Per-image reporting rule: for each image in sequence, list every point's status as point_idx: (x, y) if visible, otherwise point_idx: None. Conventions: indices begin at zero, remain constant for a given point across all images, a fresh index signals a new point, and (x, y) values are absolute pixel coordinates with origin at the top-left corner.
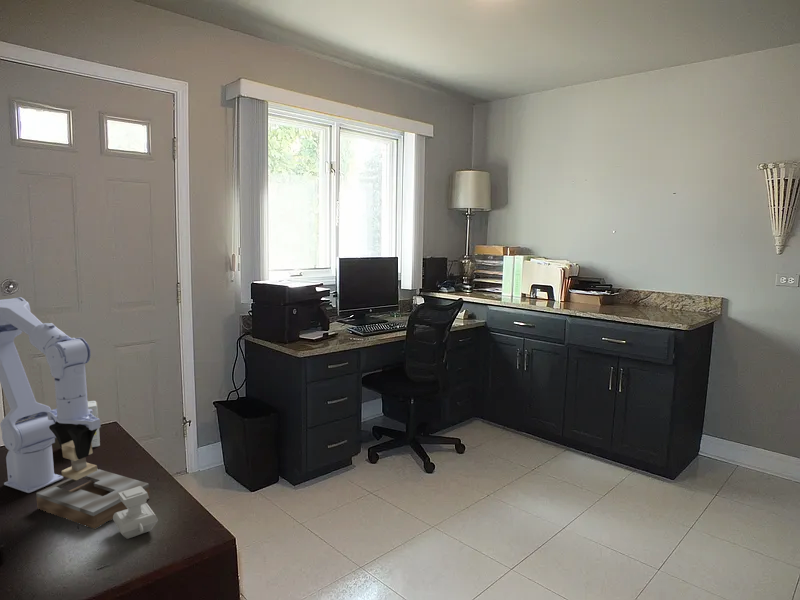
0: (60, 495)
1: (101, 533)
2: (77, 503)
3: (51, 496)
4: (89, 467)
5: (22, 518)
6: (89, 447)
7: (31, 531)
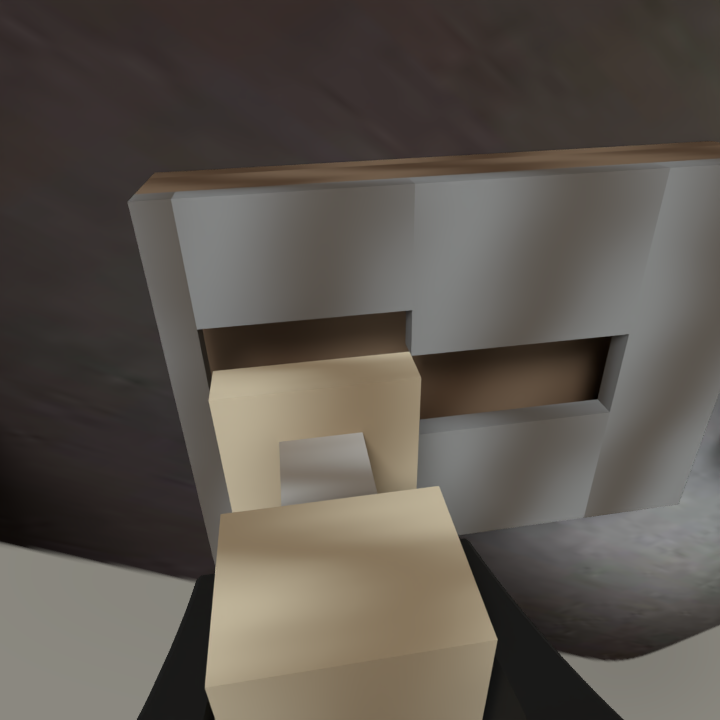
0: None
1: None
2: (537, 508)
3: None
4: (393, 424)
5: None
6: (518, 614)
7: None
